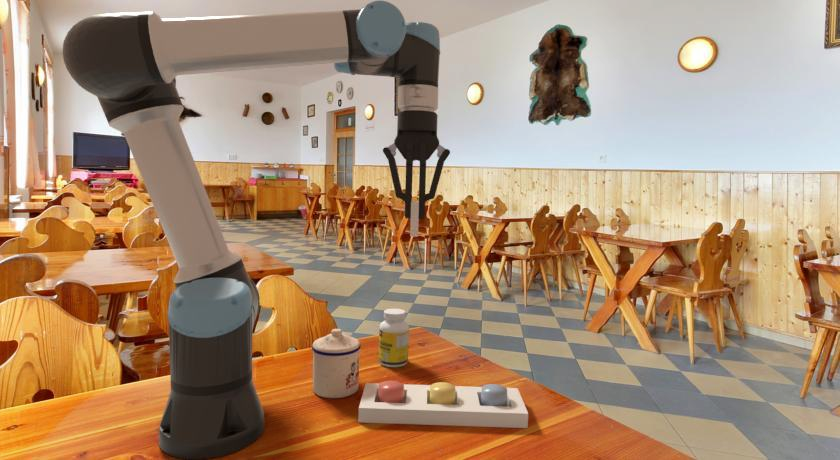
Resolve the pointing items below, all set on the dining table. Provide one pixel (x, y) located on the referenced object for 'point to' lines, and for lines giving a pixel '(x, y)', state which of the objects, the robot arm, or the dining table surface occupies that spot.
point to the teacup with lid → (336, 365)
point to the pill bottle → (393, 339)
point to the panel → (442, 408)
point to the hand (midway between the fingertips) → (414, 235)
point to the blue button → (493, 395)
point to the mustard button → (442, 393)
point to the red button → (391, 392)
